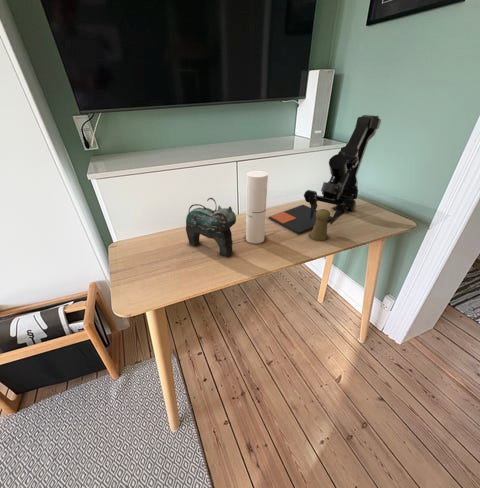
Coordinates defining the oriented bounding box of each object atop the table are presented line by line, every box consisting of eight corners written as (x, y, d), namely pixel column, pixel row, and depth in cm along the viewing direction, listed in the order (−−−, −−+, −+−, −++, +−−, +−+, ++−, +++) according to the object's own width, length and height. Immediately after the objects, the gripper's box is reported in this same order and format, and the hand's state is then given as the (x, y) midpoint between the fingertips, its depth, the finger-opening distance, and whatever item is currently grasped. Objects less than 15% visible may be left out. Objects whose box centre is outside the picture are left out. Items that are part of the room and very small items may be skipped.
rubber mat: (302, 206, 125) (303, 204, 124) (333, 219, 113) (333, 217, 113) (268, 218, 115) (269, 216, 114) (298, 234, 103) (298, 232, 103)
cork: (328, 240, 99) (334, 214, 93) (312, 240, 99) (317, 214, 93) (324, 232, 104) (329, 207, 97) (309, 232, 104) (313, 207, 97)
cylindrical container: (263, 244, 98) (266, 177, 82) (244, 242, 99) (244, 176, 84) (265, 235, 103) (269, 171, 88) (247, 233, 104) (248, 170, 89)
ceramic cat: (238, 252, 93) (237, 199, 81) (228, 261, 89) (225, 207, 77) (195, 238, 102) (188, 188, 89) (184, 246, 97) (175, 195, 85)
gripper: (309, 168, 94) (292, 206, 94) (362, 176, 85) (344, 219, 85) (314, 183, 104) (299, 218, 103) (362, 192, 95) (345, 231, 95)
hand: (320, 221), depth 97 cm, fingers open, 7 cm apart
